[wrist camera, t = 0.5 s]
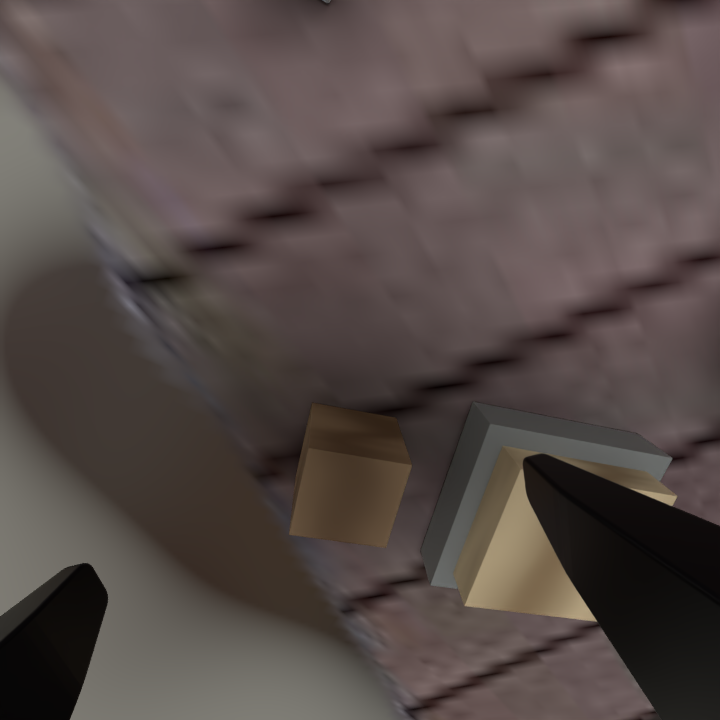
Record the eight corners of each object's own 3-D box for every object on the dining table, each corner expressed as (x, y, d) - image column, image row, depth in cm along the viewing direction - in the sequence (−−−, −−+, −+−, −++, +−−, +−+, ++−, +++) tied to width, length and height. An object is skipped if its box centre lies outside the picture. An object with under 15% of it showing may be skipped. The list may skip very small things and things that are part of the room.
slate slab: (638, 433, 24) (672, 458, 21) (569, 571, 27) (593, 605, 24) (472, 401, 22) (490, 424, 20) (420, 550, 25) (430, 585, 23)
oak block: (646, 471, 22) (677, 496, 20) (585, 590, 24) (607, 622, 22) (502, 445, 20) (520, 469, 18) (453, 573, 23) (464, 605, 21)
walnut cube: (395, 417, 22) (412, 465, 18) (375, 487, 24) (385, 547, 19) (312, 401, 22) (308, 447, 17) (295, 475, 23) (288, 534, 19)
